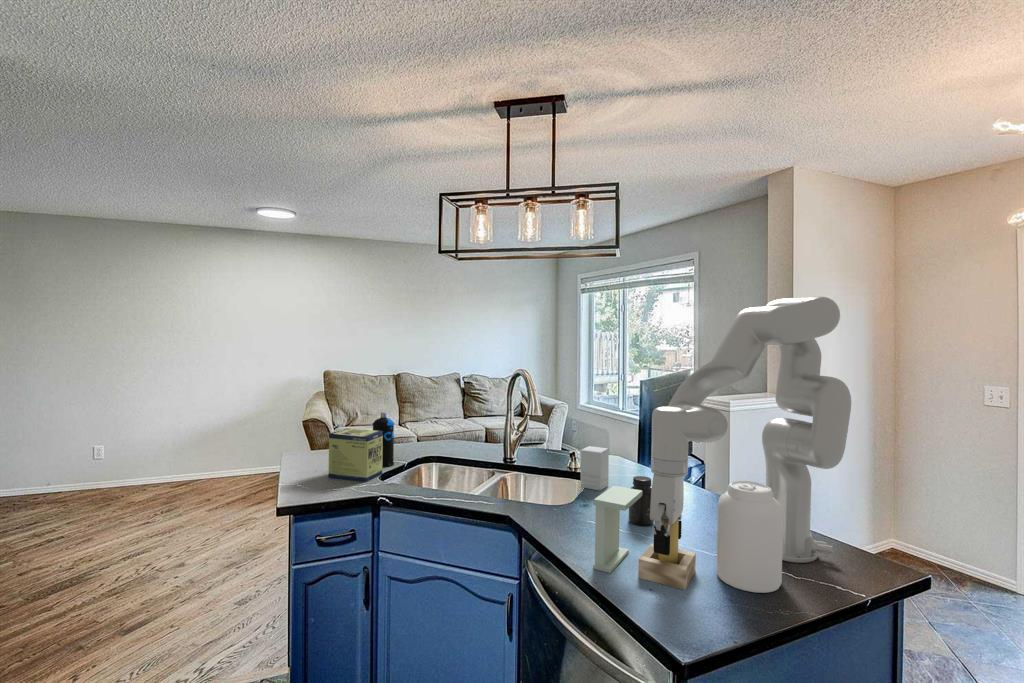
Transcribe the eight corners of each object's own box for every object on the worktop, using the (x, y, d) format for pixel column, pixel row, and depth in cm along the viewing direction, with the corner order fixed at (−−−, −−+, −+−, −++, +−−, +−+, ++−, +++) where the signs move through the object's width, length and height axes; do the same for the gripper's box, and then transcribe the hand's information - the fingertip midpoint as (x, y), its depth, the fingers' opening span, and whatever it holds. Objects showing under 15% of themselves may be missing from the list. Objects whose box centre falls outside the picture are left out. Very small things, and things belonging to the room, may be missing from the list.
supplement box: (609, 485, 174) (609, 448, 173) (600, 491, 167) (601, 452, 167) (588, 482, 178) (589, 445, 177) (579, 487, 171) (580, 449, 171)
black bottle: (368, 466, 193) (368, 413, 193) (377, 461, 201) (377, 410, 201) (389, 468, 192) (389, 414, 191) (397, 462, 200) (397, 411, 200)
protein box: (367, 482, 174) (367, 436, 174) (327, 478, 179) (327, 433, 178) (383, 474, 184) (383, 430, 184) (345, 470, 189) (345, 427, 188)
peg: (660, 568, 113) (661, 514, 113) (679, 573, 111) (680, 517, 111) (655, 575, 110) (656, 519, 110) (674, 580, 108) (676, 523, 108)
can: (750, 599, 101) (753, 497, 100) (703, 571, 112) (705, 480, 112) (795, 587, 106) (797, 490, 105) (745, 562, 117) (747, 474, 116)
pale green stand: (641, 555, 120) (642, 490, 119) (623, 576, 109) (625, 505, 109) (612, 548, 123) (613, 485, 123) (592, 568, 113) (594, 499, 113)
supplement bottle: (655, 527, 137) (655, 482, 137) (628, 525, 138) (629, 480, 138) (653, 518, 144) (654, 475, 143) (628, 516, 145) (628, 473, 145)
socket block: (695, 571, 112) (695, 553, 112) (685, 590, 104) (685, 570, 104) (651, 560, 117) (651, 543, 117) (638, 577, 109) (638, 558, 109)
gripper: (662, 455, 119) (661, 528, 120) (639, 472, 105) (637, 556, 105) (696, 459, 115) (694, 535, 116) (677, 478, 101) (675, 565, 101)
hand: (667, 545), depth 110 cm, fingers open, 9 cm apart
